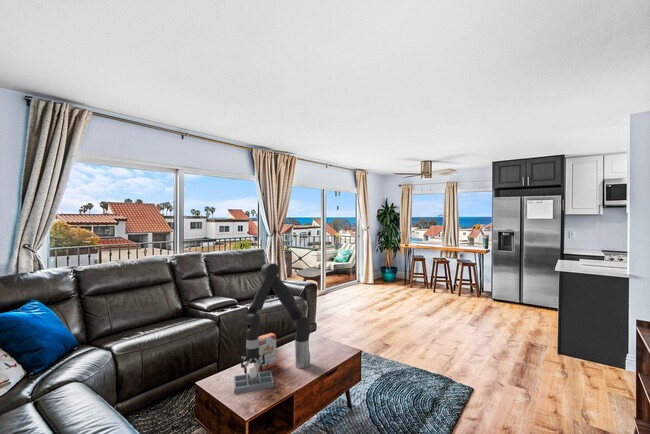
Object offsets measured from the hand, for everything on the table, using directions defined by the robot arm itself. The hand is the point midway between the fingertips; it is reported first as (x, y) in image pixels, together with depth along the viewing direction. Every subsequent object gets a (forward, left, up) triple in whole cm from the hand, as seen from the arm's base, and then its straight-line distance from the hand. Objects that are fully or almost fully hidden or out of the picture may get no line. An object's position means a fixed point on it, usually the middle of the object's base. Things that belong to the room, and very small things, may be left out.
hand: (253, 372), depth 194 cm
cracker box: (-9, -15, -5) cm, 19 cm away
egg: (0, 0, -4) cm, 5 cm away
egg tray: (0, +4, -5) cm, 6 cm away
